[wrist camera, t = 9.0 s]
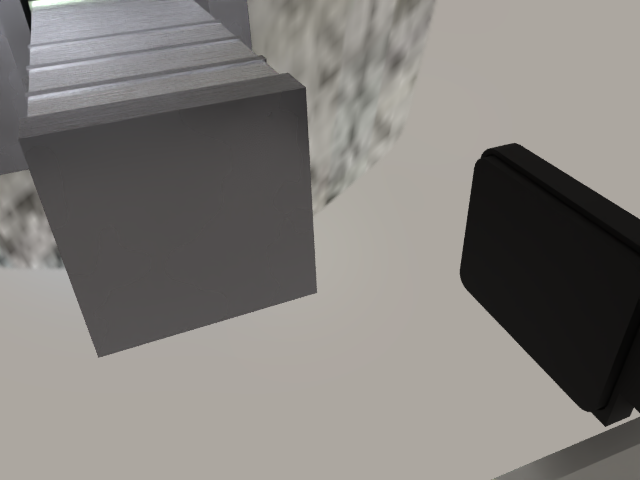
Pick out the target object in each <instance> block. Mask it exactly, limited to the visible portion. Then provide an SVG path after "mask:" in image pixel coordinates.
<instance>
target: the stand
mask: <svg viewBox="0 0 640 480" xmlns="http://www.w3.org/2000/svg"><path fill="white" fill-rule="evenodd" d="M194 1H195V2H196V3H197V4H198V5H200V6H201V7H202V8H203V9H204V10H205V11H207V12H208V13H209V14H210V15H211V16H212V17H213V18H215V19H216V20H218V19H220V20H221V21H222V25H223V26H224V27H225V28H226V29H227V30H229V31H230V32H231V33H232V34H233V35H234V36H238V35H239V36H240V37H241V38H242V43H244V44H245V45H246V46H247V47H248V48H249V49H251V50H252V44H251V35H250V25H249V16H248V6H247V0H194ZM31 20H32V13H31V10H30V6H29V3H28V0H0V175H1V174H6V173H11V172H17V171H22V170H27V169H29V167H28V165H27V162H26V159H25V157H24V154H23V151H22V148H21V146H20V143H19V140H18V132H19V118H25V117H28V105H27V102H26V100H25V93H26V92H29V76H28V73H27V70H26V66H30V54H29V51H28V45H30V44H31Z"/></svg>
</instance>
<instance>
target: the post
mask: <svg viewBox="0 0 640 480" xmlns="http://www.w3.org/2000/svg"><path fill="white" fill-rule="evenodd" d="M28 3H29V6H30V10H31V13H32V20H31V44H30V45H28V51H29V54H30V66H26V70H27V73H28V76H29V92H26V93H25V100H26V102H27V105H28V117H25V118H19V132H18V140H19V143H20V146H21V148H22V151H23V154H24V157H25V159H26V162H27V165H28V167H29V170H30V173H31V176H32V178H33V181H34V184H35V186H36V189H37V192H38V195H39V197H40V200H41V203H42V205H43V208H44V211H45V214H46V216H47V219H48V222H49V224H50V227H51V230H52V233H53V235H54V238H55V241H56V243H57V246H58V249H59V252H60V254H61V257H62V260H63V263H64V265H65V268H66V271H67V273H68V276H69V279H70V281H71V284H72V287H73V290H74V292H75V295H76V298H77V301H78V303H79V306H80V309H81V311H82V314H83V317H84V319H85V322H86V325H87V328H88V330H89V333H90V336H91V339H92V341H93V344H94V347H95V349H96V352H97V355H98V357H102V356H106V355H109V354H112V353H116V352H119V351H122V350H126V349H129V348H133V347H136V346H139V345H142V344H146V343H149V342H152V341H156V340H159V339H163V338H166V337H170V336H173V335H176V334H179V333H183V332H186V331H190V330H193V329H196V328H200V327H203V326H207V325H210V324H213V323H217V322H220V321H223V320H227V319H230V318H233V317H236V316H240V315H244V314H247V313H250V312H254V311H257V310H260V309H264V308H267V307H270V306H274V305H277V304H280V303H284V302H287V301H291V300H294V299H297V298H301V297H304V296H307V295H311V294H314V293H317V288H316V287H317V286H316V267H315V249H314V232H313V212H312V194H311V175H310V157H309V138H308V120H307V102H306V87H305V86H303V85H302V84H301V83H300V82H299V81H297V80H296V79H295V78H294V77H293V76H291V75H290V74H289V73H285V74H278V73H277V72H276V71H275V70H274V69H273V68H271V67H270V66H269V65H268V64H267V63H266V58H265V57H263V56H262V55H261V56H258V55H256V54H255V53H254V52H253V51H252V50H251V49H249V48H248V47H247V46H246V45H245V44H244V43H242V38H241V37H240V36H239V35H238V36H234V35H233V34H232V33H231V32H230V31H229V30H227V29H226V28H225V27H224V26H223V25H222V21H221V20H220V19H218V20H216V19H215V18H213V17H212V16H211V15H210V14H209V13H208V12H207V11H205V10H204V9H203V8H202V7H201V6H200V5H198V4H197V3H196V2H195V1H194V0H28Z"/></svg>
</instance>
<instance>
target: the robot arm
mask: <svg viewBox="0 0 640 480" xmlns="http://www.w3.org/2000/svg"><path fill="white" fill-rule="evenodd" d="M460 278H461V281H462V283H463V285H464V287H465V288H466V289H467V291H469V293H470V294H471V295H472V296H473V297H474V298H475V299H476V300H477V301H478V302H479V303H480V304H481V305H482V306H483V307H484V308H485V309H486V310H487V311H488V312H489V314H490V315H491V316H492V317H493V318H494V319H495V320H496V321H497V322H498V323H499V324H500V325H501V326H502V327H503V328H504V329H505V330H506V331H507V332H508V333H509V334H510V335H511V336H512V337H513V338H514V340H515V341H516V342H517V343H518V344H519V345H520V346H521V347H522V348H523V349H524V350H525V351H526V352H527V353H528V354H529V355H530V356H531V357H532V358H533V359H534V360H535V361H536V363H538V365H539V366H540V367H541V368H542V369H543V370H544V371H545V372H546V373H547V374H548V375H549V376H550V377H551V378H552V379H553V380H554V381H555V382H556V383H557V384H558V385H559V386H560V388H561V389H562V390H563V391H564V392H565V393H566V394H567V395H568V396H569V397H570V398H571V399H572V400H573V401H574V402H575V403H576V404H577V405H578V406H579V407H580V408H581V409H582V410H584V411H587V412H592V413H593V415H594V416H596V418H597V419H598V420H599V421H600V422H601V423H602V424H603V425H604V426H605V427H606V426H608V425H611V424H613V423H615V422H618V421H620V420H622V419H625V418H627V417H629V416H630V415H631V412H632V410H633V408H635V409H636V410H637V411H638V412H639V413H640V219H638V218H637V217H635V216H634V215H632V214H631V213H629V212H627V211H626V210H624V209H622V208H620V207H619V206H618V205H616V204H614V203H613V202H611V201H610V200H608V199H606V198H605V197H603V196H602V195H600V194H598V193H597V192H595V191H593V190H592V189H590V188H589V187H587V186H585V185H584V184H582V183H580V182H579V181H577V180H576V179H574V178H573V177H571V176H569V175H568V174H566V173H564V172H563V171H561V170H559V169H558V168H556V167H555V166H553V165H552V164H550V163H548V162H547V161H545V160H544V159H542V158H540V157H539V156H537V155H535V154H534V153H532V152H531V151H529V150H527V149H525V148H524V147H523V146H521V145H519V144H516V143H512V144H508V145H503V146H499V147H494V148H490V149H487V150H486V151H484V152H483V154H482V156H481V159H479V160H477V162H476V164H475V167H474V174H473V181H472V188H471V195H470V202H469V209H468V216H467V223H466V230H465V238H464V245H463V252H462V259H461V266H460ZM492 480H640V417H638V418H636V419H634V420H631V421H629V422H626V423H624V424H622V425H619V426H617V427H615V428H612V429H610V430H608V431H605V432H603V433H601V434H598V435H596V436H593V437H591V438H589V439H586V440H584V441H581V442H579V443H577V444H574V445H572V446H570V447H567V448H565V449H562V450H560V451H558V452H555V453H553V454H551V455H548V456H546V457H544V458H541V459H539V460H536V461H534V462H532V463H529V464H527V465H525V466H522V467H520V468H518V469H515V470H513V471H511V472H508V473H506V474H504V475H501V476H499V477H497V478H494V479H492Z"/></svg>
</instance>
